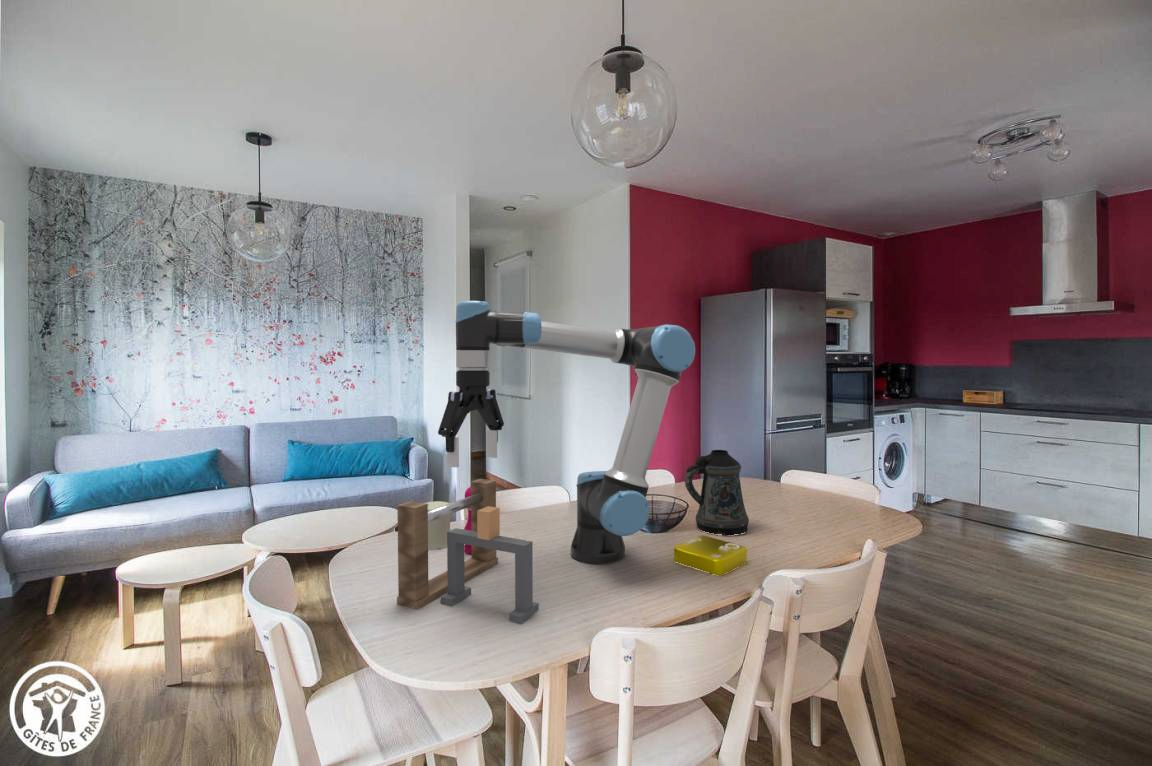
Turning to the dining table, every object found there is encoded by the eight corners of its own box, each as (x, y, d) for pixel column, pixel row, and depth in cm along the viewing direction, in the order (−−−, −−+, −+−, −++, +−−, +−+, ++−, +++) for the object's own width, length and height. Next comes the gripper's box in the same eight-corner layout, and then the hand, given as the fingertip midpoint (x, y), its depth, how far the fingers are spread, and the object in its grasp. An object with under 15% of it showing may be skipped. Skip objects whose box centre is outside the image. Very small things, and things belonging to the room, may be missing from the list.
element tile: (701, 549, 156) (701, 532, 156) (749, 563, 146) (750, 545, 145) (670, 562, 146) (670, 545, 146) (719, 578, 135) (720, 559, 135)
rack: (497, 563, 144) (497, 480, 143) (417, 609, 117) (416, 508, 117) (479, 559, 147) (478, 478, 146) (396, 603, 120) (395, 505, 119)
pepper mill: (483, 556, 149) (482, 484, 149) (458, 554, 151) (458, 482, 150) (492, 547, 156) (492, 478, 156) (468, 545, 158) (468, 477, 157)
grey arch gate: (538, 610, 117) (538, 511, 116) (521, 624, 111) (520, 519, 110) (460, 591, 127) (460, 499, 126) (440, 603, 120) (439, 507, 119)
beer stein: (759, 530, 172) (760, 452, 171) (718, 542, 161) (719, 458, 160) (718, 518, 186) (719, 445, 185) (678, 527, 175) (678, 450, 174)
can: (421, 539, 163) (421, 500, 163) (453, 538, 164) (452, 499, 164) (415, 550, 154) (415, 508, 154) (448, 549, 155) (448, 507, 154)
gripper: (493, 368, 137) (493, 452, 138) (420, 369, 115) (421, 469, 116) (518, 369, 133) (518, 455, 134) (447, 370, 112) (448, 473, 112)
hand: (473, 461), depth 125 cm, fingers open, 13 cm apart
